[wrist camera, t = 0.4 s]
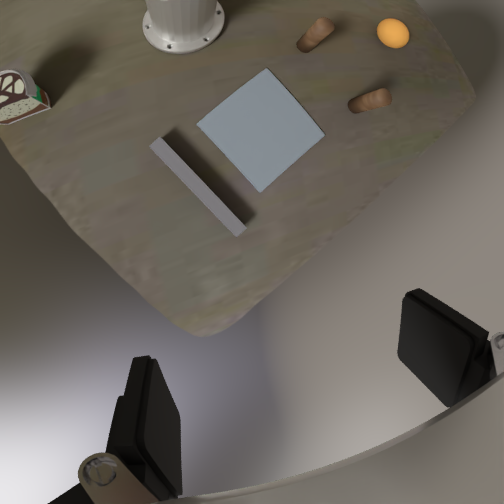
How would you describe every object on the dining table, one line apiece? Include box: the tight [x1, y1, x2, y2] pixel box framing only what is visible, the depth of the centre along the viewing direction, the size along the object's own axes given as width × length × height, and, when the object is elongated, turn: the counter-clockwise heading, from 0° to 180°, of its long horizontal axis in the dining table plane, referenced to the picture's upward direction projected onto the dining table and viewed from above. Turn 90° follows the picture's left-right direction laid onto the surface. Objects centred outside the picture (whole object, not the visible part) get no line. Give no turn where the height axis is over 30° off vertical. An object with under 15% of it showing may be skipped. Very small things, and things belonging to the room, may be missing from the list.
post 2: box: [348, 88, 392, 113], centre depth 39 cm, size 3×3×9 cm
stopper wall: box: [149, 137, 246, 238], centre depth 42 cm, size 18×2×2 cm, turn 42°
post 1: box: [297, 17, 335, 53], centre depth 35 cm, size 3×3×9 cm
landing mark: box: [196, 68, 325, 193], centre depth 42 cm, size 14×14×1 cm
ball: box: [377, 18, 409, 48], centre depth 38 cm, size 6×6×6 cm
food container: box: [0, 69, 51, 125], centre depth 29 cm, size 12×6×10 cm, turn 95°
